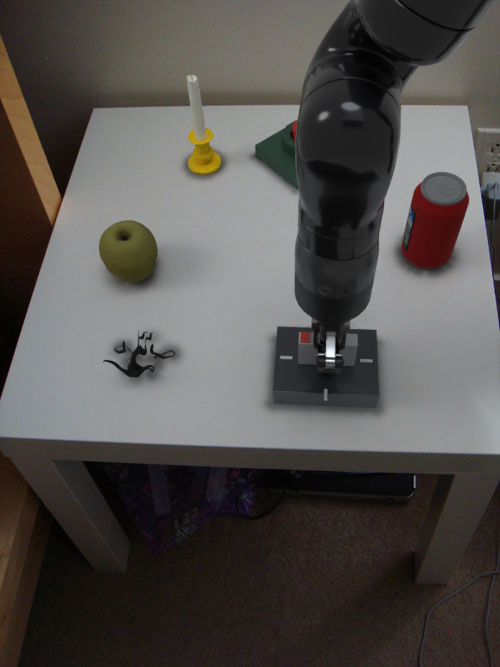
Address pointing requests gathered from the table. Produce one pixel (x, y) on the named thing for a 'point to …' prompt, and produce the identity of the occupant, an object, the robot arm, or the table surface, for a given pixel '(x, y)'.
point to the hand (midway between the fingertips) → (326, 358)
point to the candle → (200, 134)
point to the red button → (294, 130)
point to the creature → (134, 367)
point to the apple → (128, 250)
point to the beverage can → (435, 219)
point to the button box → (280, 154)
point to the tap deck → (312, 389)
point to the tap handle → (308, 352)
